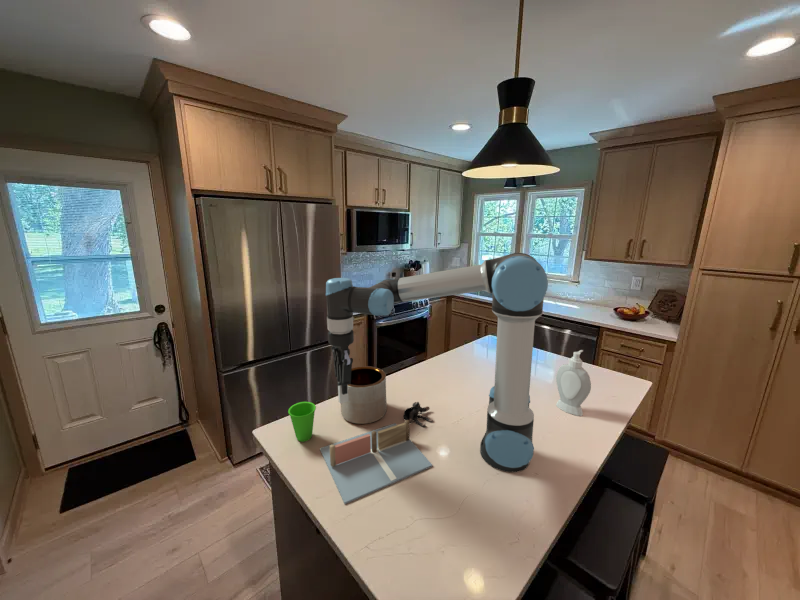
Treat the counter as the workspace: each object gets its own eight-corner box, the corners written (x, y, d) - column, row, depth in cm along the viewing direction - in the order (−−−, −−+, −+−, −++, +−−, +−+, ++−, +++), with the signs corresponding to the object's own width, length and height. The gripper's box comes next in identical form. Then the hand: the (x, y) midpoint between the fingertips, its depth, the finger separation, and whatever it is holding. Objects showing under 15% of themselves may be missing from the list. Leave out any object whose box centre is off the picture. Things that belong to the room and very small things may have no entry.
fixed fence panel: (410, 441, 109) (410, 421, 107) (373, 455, 102) (372, 434, 101) (407, 438, 110) (408, 419, 109) (371, 452, 104) (370, 431, 102)
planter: (390, 422, 119) (389, 384, 116) (341, 428, 116) (339, 389, 112) (382, 398, 136) (382, 363, 132) (340, 402, 133) (338, 367, 129)
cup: (290, 448, 106) (287, 418, 103) (291, 431, 114) (288, 403, 112) (318, 443, 108) (316, 414, 106) (317, 427, 117) (315, 399, 114)
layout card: (432, 466, 98) (432, 464, 98) (344, 504, 85) (344, 502, 84) (395, 424, 118) (395, 422, 118) (319, 449, 105) (319, 447, 105)
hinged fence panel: (369, 449, 103) (368, 432, 102) (371, 452, 102) (370, 435, 100) (329, 463, 97) (328, 445, 96) (331, 467, 96) (330, 448, 94)
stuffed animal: (416, 429, 114) (400, 400, 120) (407, 440, 120) (393, 412, 127) (441, 417, 120) (425, 390, 127) (431, 429, 127) (416, 402, 133)
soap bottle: (591, 412, 125) (601, 354, 120) (583, 420, 121) (592, 360, 115) (558, 399, 135) (565, 344, 130) (549, 405, 131) (556, 349, 125)
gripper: (360, 334, 92) (362, 408, 97) (345, 322, 103) (347, 389, 108) (335, 339, 88) (338, 415, 94) (322, 326, 99) (325, 394, 105)
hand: (343, 401), depth 101 cm, fingers closed
